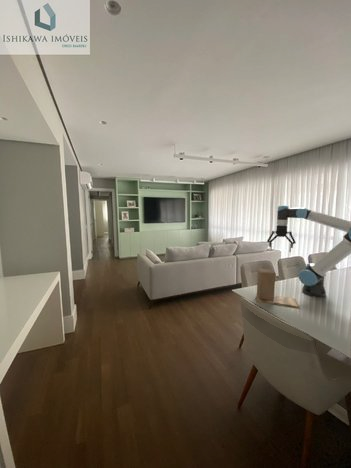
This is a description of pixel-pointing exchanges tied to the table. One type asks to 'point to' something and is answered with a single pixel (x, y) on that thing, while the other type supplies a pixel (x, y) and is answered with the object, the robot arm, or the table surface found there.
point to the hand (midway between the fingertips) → (280, 251)
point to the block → (266, 284)
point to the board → (281, 301)
